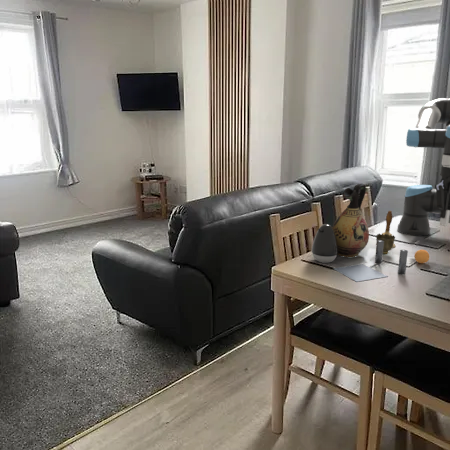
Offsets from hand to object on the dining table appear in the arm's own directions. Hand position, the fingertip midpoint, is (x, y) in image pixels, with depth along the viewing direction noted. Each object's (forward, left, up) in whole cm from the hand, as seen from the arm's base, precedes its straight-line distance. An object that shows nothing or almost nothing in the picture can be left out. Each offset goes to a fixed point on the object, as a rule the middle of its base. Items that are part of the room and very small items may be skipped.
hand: (443, 225), depth 178 cm
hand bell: (+6, -24, -15) cm, 29 cm away
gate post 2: (+25, +6, -15) cm, 30 cm away
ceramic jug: (+29, -20, -15) cm, 38 cm away
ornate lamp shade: (+15, -15, -15) cm, 26 cm away
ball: (+9, 0, -12) cm, 15 cm away
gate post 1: (+25, -6, -15) cm, 30 cm away
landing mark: (+39, 0, -15) cm, 42 cm away
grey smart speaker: (+44, -16, -15) cm, 49 cm away
